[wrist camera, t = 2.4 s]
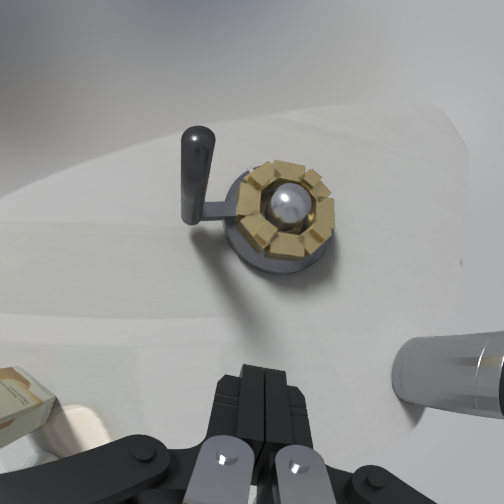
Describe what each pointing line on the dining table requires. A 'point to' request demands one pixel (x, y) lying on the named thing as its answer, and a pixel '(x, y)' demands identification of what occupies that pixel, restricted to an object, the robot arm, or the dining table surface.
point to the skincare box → (21, 404)
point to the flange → (282, 217)
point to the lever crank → (253, 200)
